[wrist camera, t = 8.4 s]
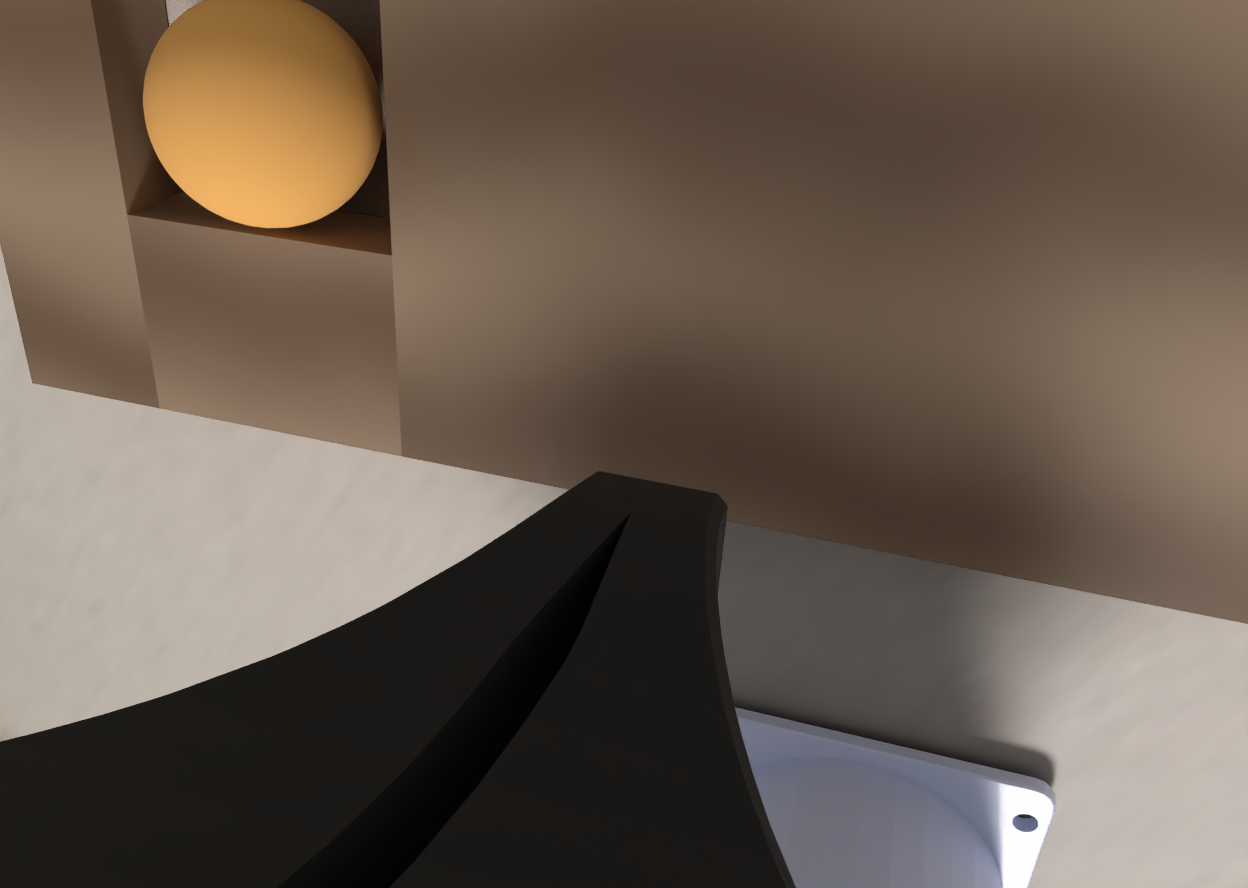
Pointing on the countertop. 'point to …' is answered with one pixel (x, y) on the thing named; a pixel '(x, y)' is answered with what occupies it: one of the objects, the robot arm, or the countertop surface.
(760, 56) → the board
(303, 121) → the ball
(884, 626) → the countertop surface
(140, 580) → the countertop surface
